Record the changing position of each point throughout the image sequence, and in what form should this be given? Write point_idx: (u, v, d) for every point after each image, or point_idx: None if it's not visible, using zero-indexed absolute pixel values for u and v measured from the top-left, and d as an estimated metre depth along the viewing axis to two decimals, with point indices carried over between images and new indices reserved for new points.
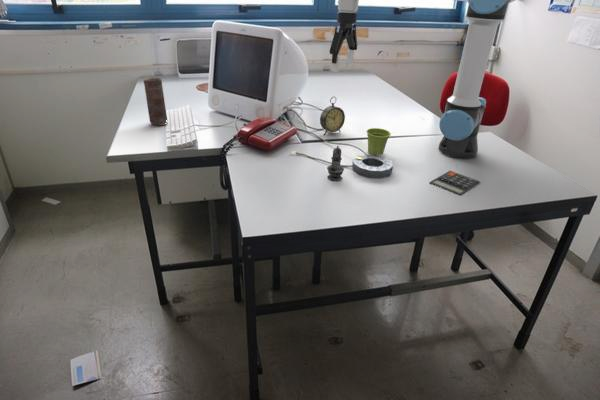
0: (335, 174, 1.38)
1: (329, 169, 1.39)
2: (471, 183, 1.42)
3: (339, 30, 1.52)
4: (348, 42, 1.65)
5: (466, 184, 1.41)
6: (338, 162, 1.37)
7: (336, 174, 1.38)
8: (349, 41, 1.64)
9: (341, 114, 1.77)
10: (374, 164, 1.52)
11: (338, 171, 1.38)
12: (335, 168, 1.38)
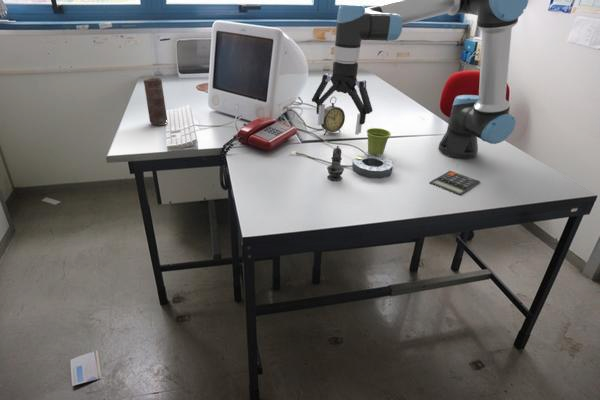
0: (335, 174, 1.38)
1: (329, 169, 1.39)
2: (471, 183, 1.42)
3: None
4: None
5: (466, 184, 1.41)
6: (338, 162, 1.37)
7: (336, 174, 1.38)
8: None
9: (341, 114, 1.77)
10: (374, 164, 1.52)
11: (338, 171, 1.38)
12: (335, 168, 1.38)
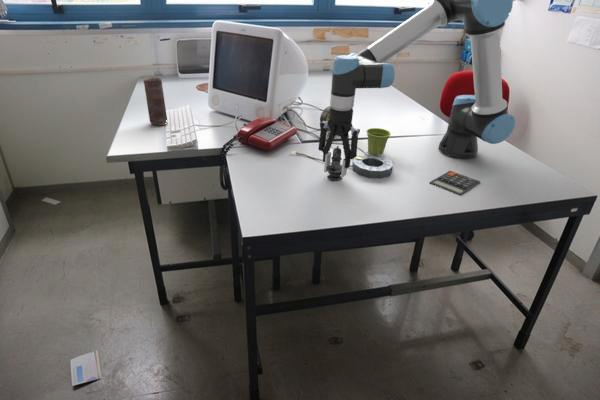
0: (335, 174, 1.38)
1: (329, 169, 1.39)
2: (471, 183, 1.42)
3: None
4: None
5: (466, 184, 1.41)
6: (338, 162, 1.37)
7: (336, 174, 1.38)
8: None
9: None
10: (374, 164, 1.52)
11: (338, 171, 1.38)
12: (335, 168, 1.38)
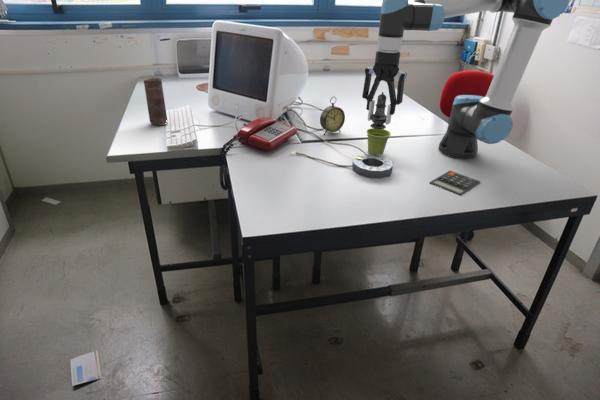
0: (379, 121, 1.37)
1: (373, 116, 1.38)
2: (471, 183, 1.42)
3: None
4: None
5: (466, 184, 1.41)
6: (383, 109, 1.36)
7: (380, 121, 1.37)
8: None
9: (341, 114, 1.77)
10: (374, 164, 1.52)
11: (383, 118, 1.37)
12: (379, 115, 1.37)
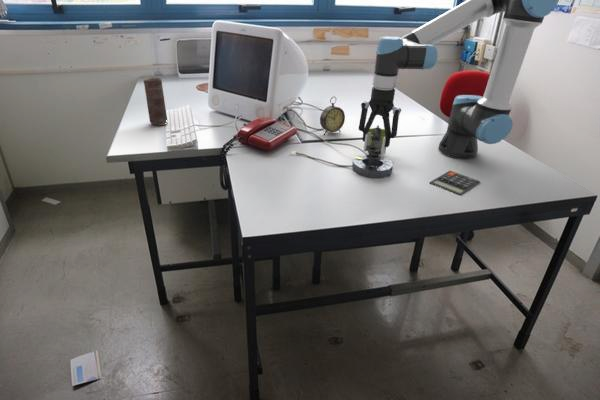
0: (375, 153, 1.43)
1: (369, 148, 1.43)
2: (471, 183, 1.42)
3: None
4: None
5: (466, 184, 1.41)
6: (378, 141, 1.42)
7: (376, 153, 1.43)
8: None
9: (341, 114, 1.77)
10: (374, 164, 1.52)
11: (378, 150, 1.42)
12: (375, 147, 1.43)
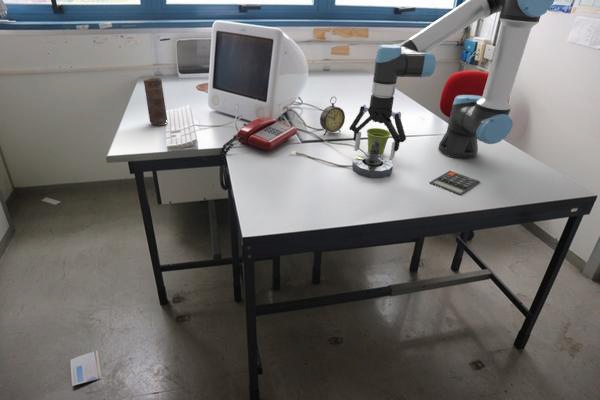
0: (373, 166, 1.45)
1: (367, 161, 1.46)
2: (471, 183, 1.42)
3: None
4: None
5: (466, 184, 1.41)
6: (376, 155, 1.45)
7: (374, 166, 1.45)
8: None
9: (341, 114, 1.77)
10: None
11: (376, 163, 1.45)
12: (373, 160, 1.45)
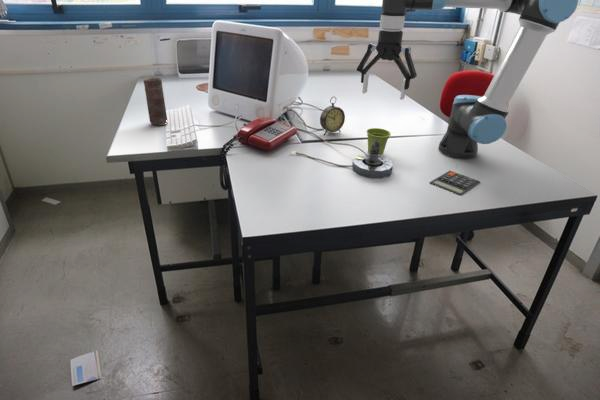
0: (373, 166, 1.45)
1: (367, 161, 1.46)
2: (471, 183, 1.42)
3: None
4: None
5: (466, 184, 1.41)
6: (376, 155, 1.45)
7: (374, 166, 1.45)
8: None
9: (341, 114, 1.77)
10: None
11: (376, 163, 1.45)
12: (373, 160, 1.45)
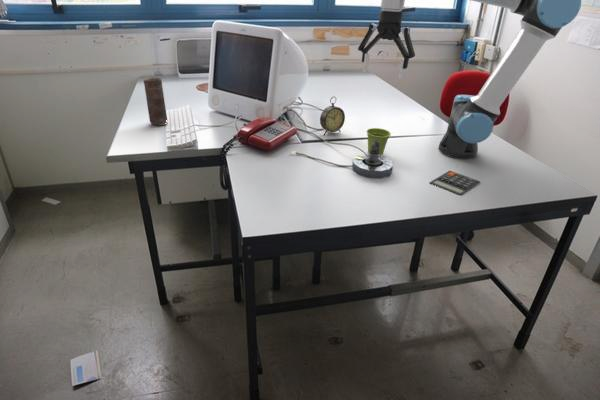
0: (373, 166, 1.45)
1: (367, 161, 1.46)
2: (471, 183, 1.42)
3: None
4: None
5: (466, 184, 1.41)
6: (376, 155, 1.45)
7: (374, 166, 1.45)
8: None
9: (341, 114, 1.77)
10: None
11: (376, 163, 1.45)
12: (373, 160, 1.45)
